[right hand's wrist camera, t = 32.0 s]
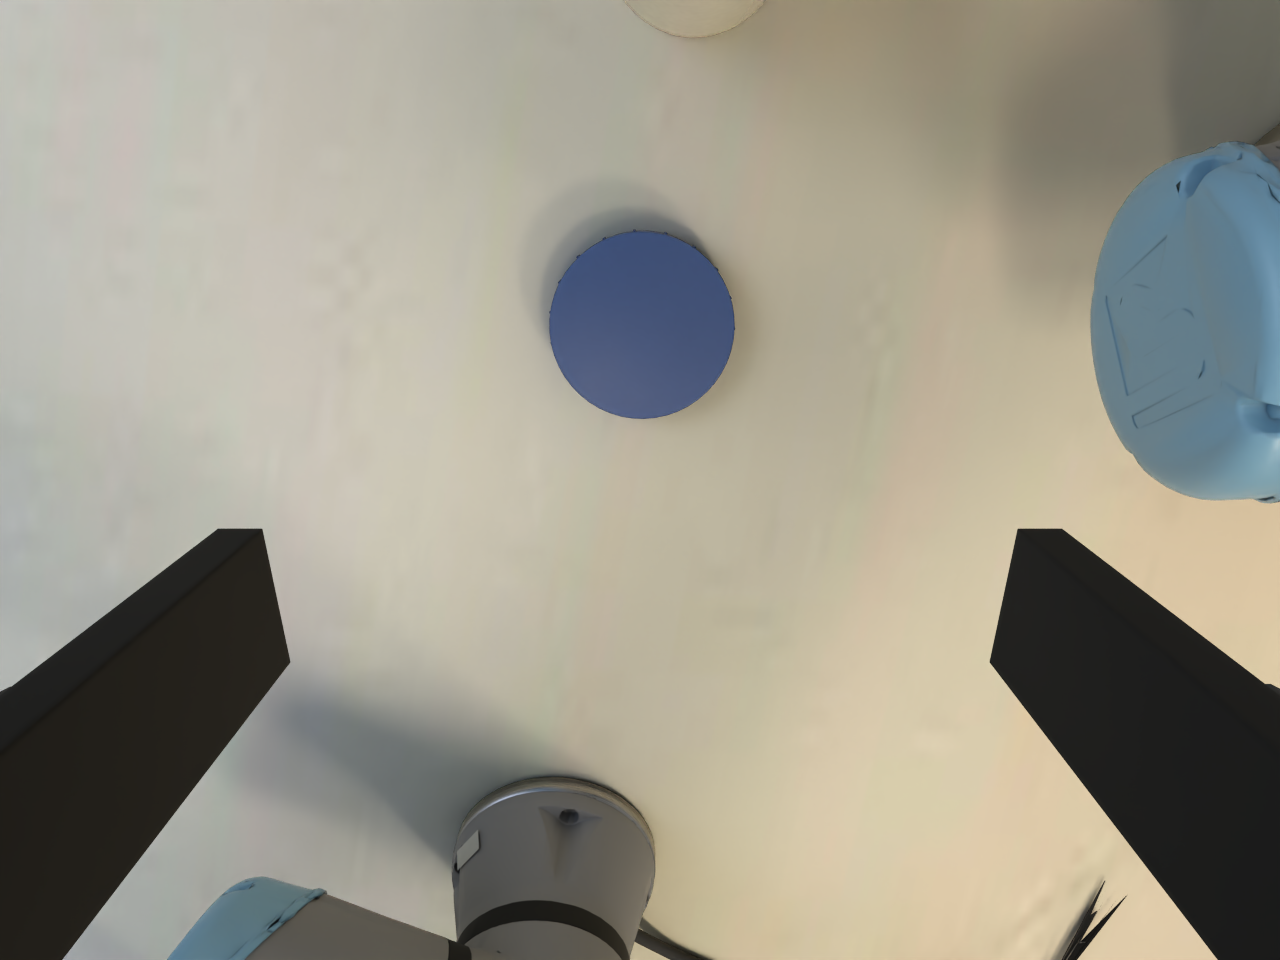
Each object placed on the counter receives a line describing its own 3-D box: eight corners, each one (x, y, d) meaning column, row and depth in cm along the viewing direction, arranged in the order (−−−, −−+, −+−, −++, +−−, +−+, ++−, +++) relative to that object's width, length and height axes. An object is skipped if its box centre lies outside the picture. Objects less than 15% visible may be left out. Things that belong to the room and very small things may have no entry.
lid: (521, 360, 41) (516, 366, 39) (603, 193, 38) (602, 192, 36) (674, 440, 43) (676, 450, 41) (765, 287, 40) (770, 290, 38)
